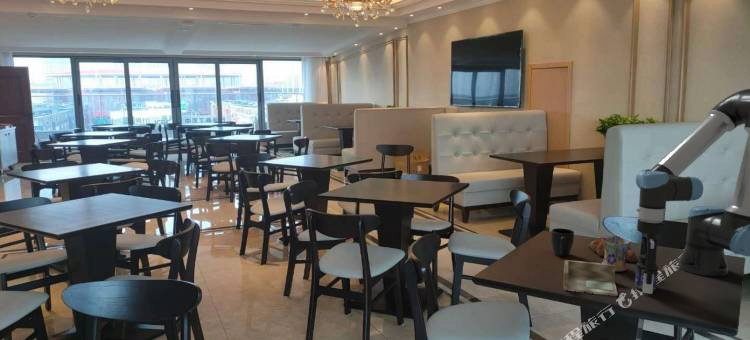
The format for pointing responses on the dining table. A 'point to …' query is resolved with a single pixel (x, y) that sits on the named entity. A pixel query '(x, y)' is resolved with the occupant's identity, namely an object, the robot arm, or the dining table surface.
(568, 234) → the mug
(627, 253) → the pastry
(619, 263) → the mug
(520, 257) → the dining table surface
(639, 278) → the pill bottle
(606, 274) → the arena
